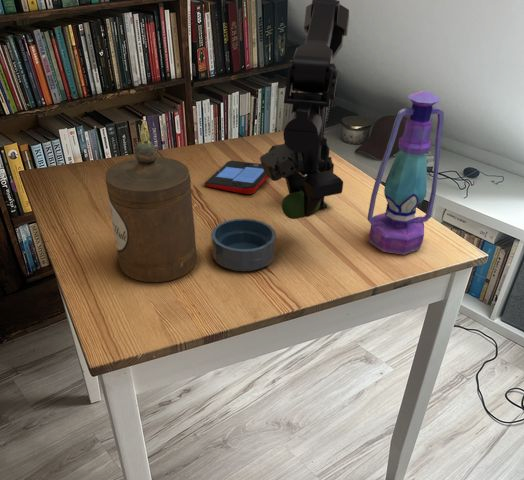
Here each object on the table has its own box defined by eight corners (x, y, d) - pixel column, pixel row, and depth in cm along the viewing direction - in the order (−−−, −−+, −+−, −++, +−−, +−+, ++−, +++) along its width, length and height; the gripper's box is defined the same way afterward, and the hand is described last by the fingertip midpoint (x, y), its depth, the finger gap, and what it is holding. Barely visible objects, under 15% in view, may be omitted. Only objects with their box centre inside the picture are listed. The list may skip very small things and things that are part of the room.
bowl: (257, 235, 118) (258, 213, 115) (285, 264, 110) (287, 242, 107) (202, 248, 114) (201, 226, 111) (227, 279, 106) (227, 256, 102)
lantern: (414, 226, 123) (447, 80, 103) (435, 254, 114) (475, 100, 94) (355, 230, 121) (378, 81, 101) (372, 259, 112) (401, 103, 92)
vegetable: (158, 220, 122) (148, 126, 109) (139, 217, 123) (127, 124, 109) (165, 210, 125) (156, 119, 112) (146, 208, 126) (135, 117, 113)
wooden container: (128, 240, 115) (112, 132, 101) (200, 243, 115) (194, 135, 101) (111, 281, 104) (90, 167, 90) (191, 285, 104) (183, 170, 89)
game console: (229, 164, 145) (228, 156, 143) (275, 173, 141) (275, 165, 140) (203, 186, 135) (203, 178, 133) (252, 197, 131) (252, 188, 130)
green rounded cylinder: (311, 206, 115) (313, 183, 112) (323, 217, 112) (326, 194, 109) (276, 214, 113) (277, 191, 109) (288, 225, 109) (289, 201, 106)
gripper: (244, 120, 105) (244, 198, 115) (292, 157, 92) (287, 241, 103) (296, 112, 108) (291, 188, 119) (349, 147, 96) (339, 228, 106)
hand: (300, 210), depth 111 cm, fingers closed on green rounded cylinder, 5 cm apart
